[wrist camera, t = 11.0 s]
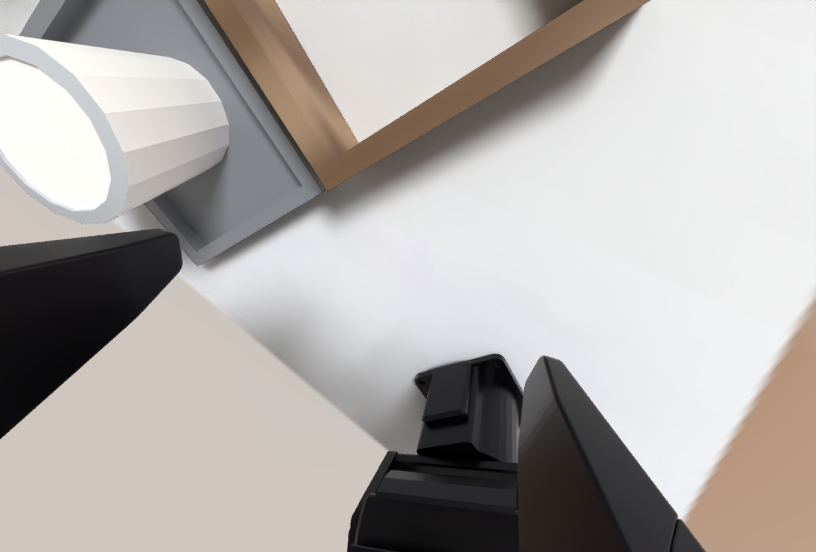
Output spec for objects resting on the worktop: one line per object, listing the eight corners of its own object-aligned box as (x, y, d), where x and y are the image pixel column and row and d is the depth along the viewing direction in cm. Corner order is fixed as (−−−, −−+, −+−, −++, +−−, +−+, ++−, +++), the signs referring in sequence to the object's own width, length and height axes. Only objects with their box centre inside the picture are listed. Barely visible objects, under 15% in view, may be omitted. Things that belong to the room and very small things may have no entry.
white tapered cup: (146, 172, 22) (15, 212, 16) (106, 36, 18) (-81, 25, 13) (249, 188, 21) (147, 238, 15) (227, 48, 17) (83, 42, 12)
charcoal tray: (334, 184, 20) (322, 192, 19) (213, 256, 25) (197, 266, 24) (147, -109, 15) (115, -124, 14) (42, 48, 20) (11, 47, 19)
